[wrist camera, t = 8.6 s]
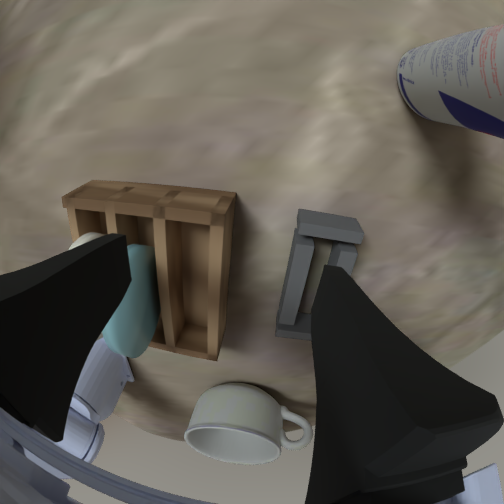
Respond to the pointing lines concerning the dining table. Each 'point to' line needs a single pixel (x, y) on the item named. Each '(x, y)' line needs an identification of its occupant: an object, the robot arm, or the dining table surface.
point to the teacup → (242, 425)
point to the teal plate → (136, 306)
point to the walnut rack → (170, 252)
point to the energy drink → (458, 80)
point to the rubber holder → (301, 253)
